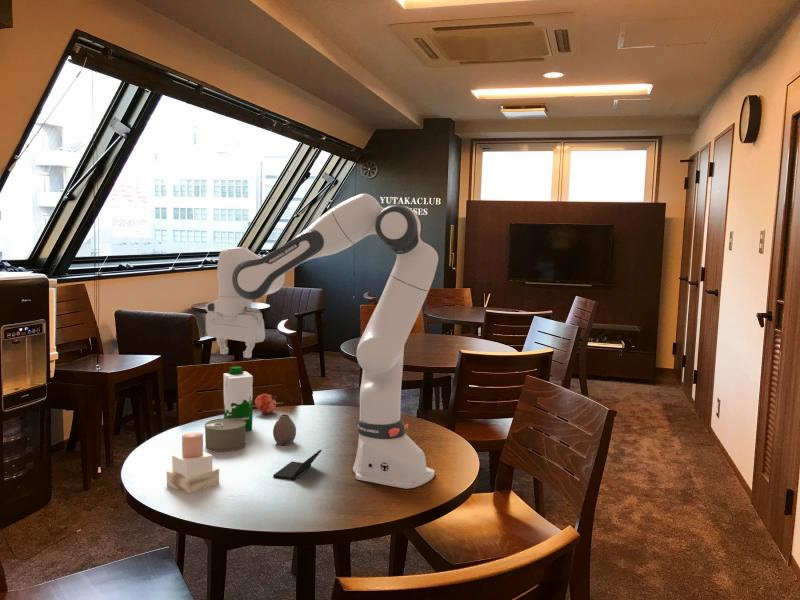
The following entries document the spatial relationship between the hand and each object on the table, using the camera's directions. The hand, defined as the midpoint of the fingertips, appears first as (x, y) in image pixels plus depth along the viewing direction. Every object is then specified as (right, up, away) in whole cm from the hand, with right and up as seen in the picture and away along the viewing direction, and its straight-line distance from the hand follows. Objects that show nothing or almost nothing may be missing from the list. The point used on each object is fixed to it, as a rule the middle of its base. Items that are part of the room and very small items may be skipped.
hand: (235, 355), depth 175 cm
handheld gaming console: (+18, -31, -6) cm, 37 cm away
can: (-7, -29, +15) cm, 33 cm away
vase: (+10, -29, +18) cm, 35 cm away
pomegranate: (-2, -25, +49) cm, 55 cm away
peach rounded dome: (-7, -24, -16) cm, 29 cm away
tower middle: (-7, -28, -15) cm, 32 cm away
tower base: (-7, -32, -15) cm, 36 cm away
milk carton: (-7, -27, +31) cm, 42 cm away
